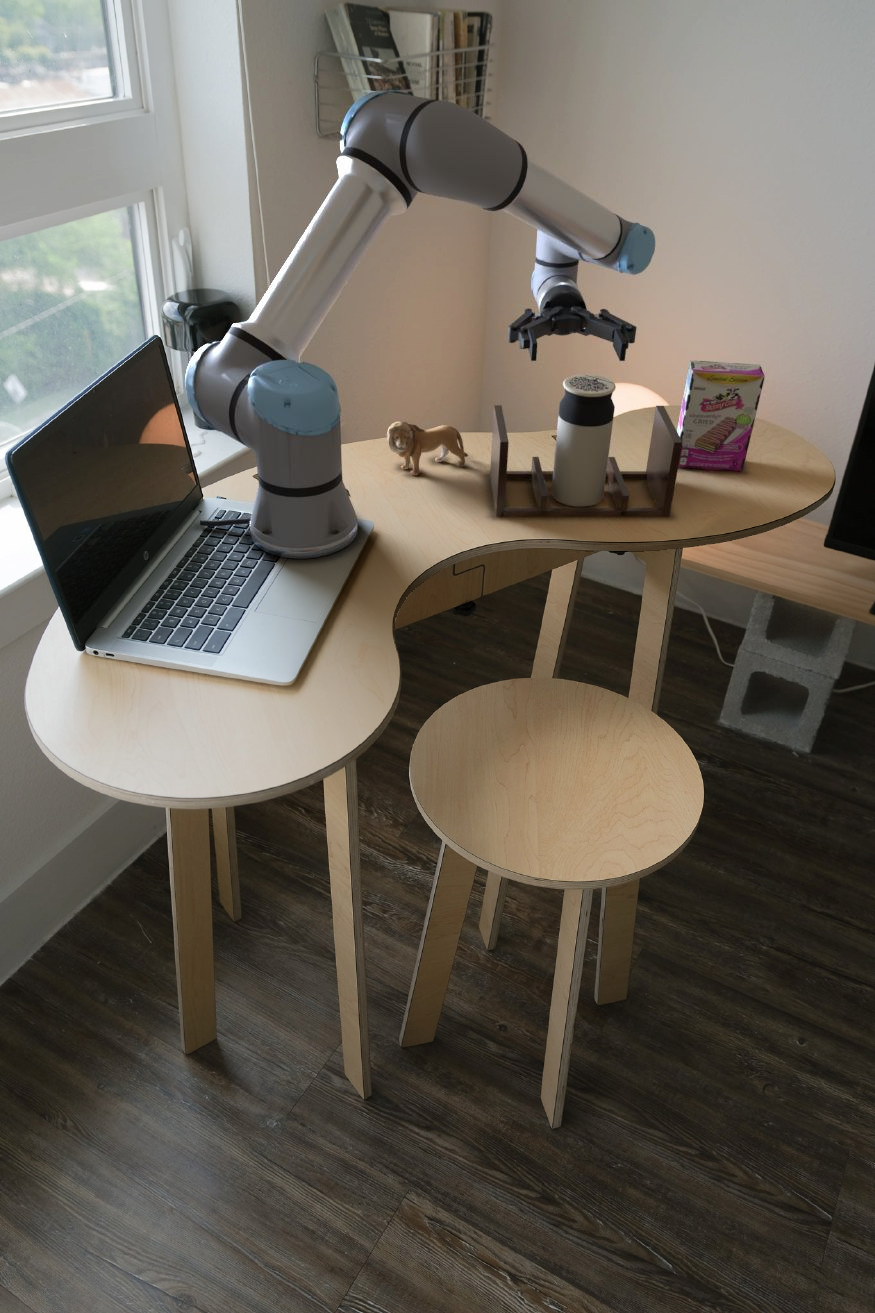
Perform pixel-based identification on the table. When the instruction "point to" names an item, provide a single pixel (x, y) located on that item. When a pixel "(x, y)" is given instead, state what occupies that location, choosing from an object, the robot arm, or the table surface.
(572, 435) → the travel mug
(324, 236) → the robot arm
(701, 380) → the candy bar box
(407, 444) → the lion figurine
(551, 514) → the rack
